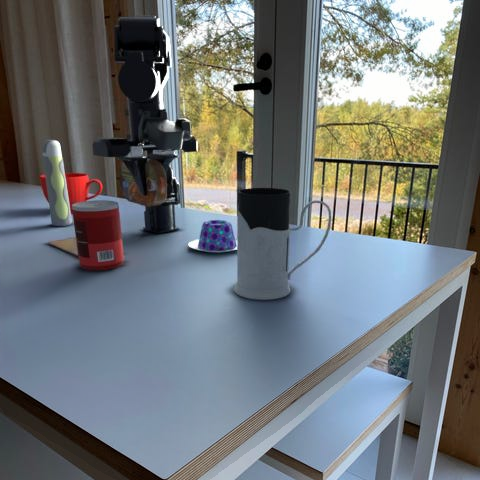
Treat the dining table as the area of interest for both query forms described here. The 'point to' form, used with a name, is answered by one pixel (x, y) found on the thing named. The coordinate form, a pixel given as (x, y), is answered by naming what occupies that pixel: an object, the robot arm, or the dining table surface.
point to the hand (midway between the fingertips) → (151, 194)
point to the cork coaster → (66, 245)
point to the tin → (153, 180)
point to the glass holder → (266, 242)
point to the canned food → (98, 234)
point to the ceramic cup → (74, 187)
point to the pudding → (215, 237)
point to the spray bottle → (56, 183)
